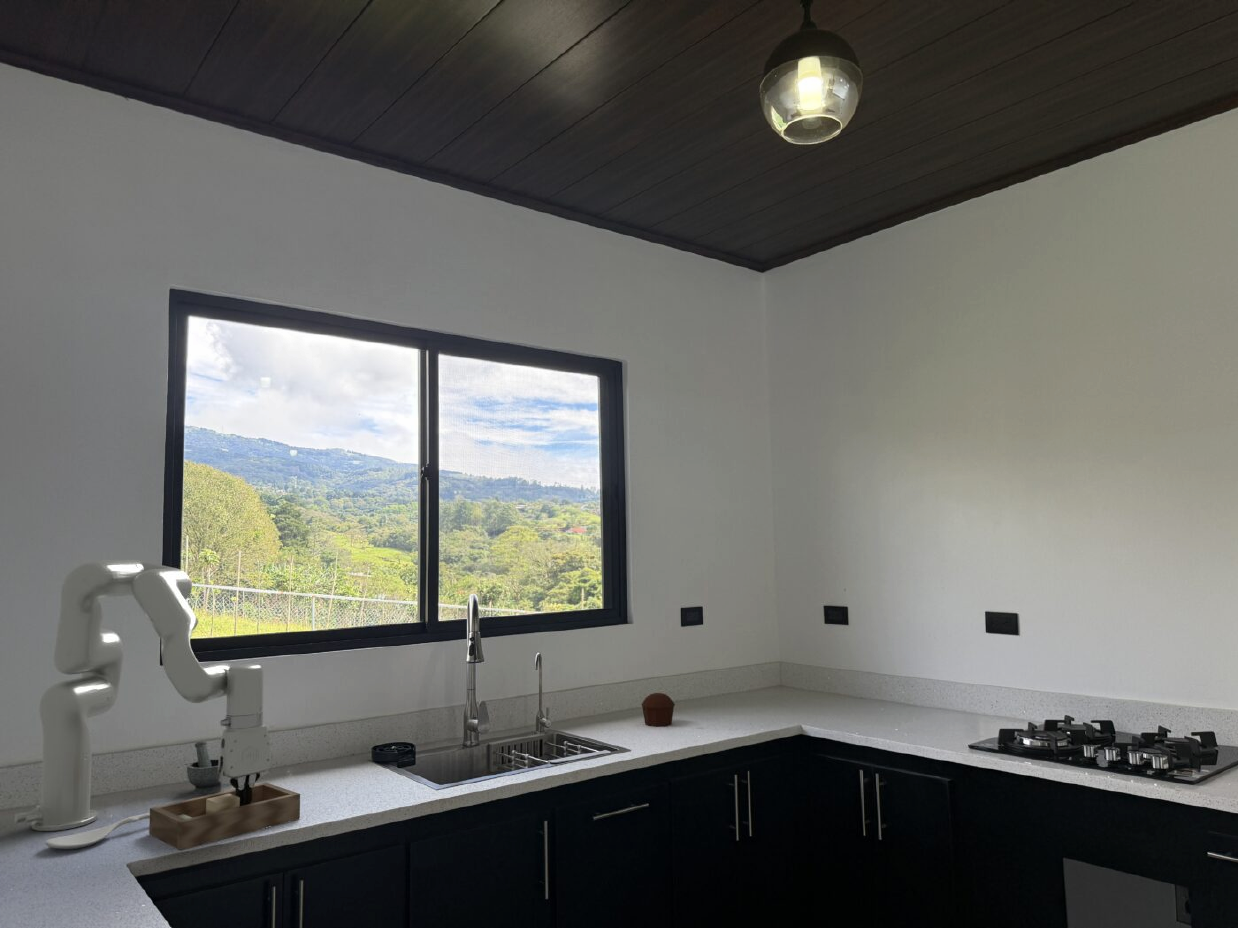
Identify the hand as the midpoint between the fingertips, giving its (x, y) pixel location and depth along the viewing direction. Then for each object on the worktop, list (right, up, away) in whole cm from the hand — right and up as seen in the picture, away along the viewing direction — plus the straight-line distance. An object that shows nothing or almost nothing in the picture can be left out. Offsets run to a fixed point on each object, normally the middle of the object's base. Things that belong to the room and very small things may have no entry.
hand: (243, 805), depth 194 cm
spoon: (-23, -5, -3) cm, 24 cm away
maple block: (-3, -1, -4) cm, 5 cm away
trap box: (-4, -4, -1) cm, 6 cm away
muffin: (+96, -12, +100) cm, 140 cm away
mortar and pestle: (-22, -8, +29) cm, 37 cm away
